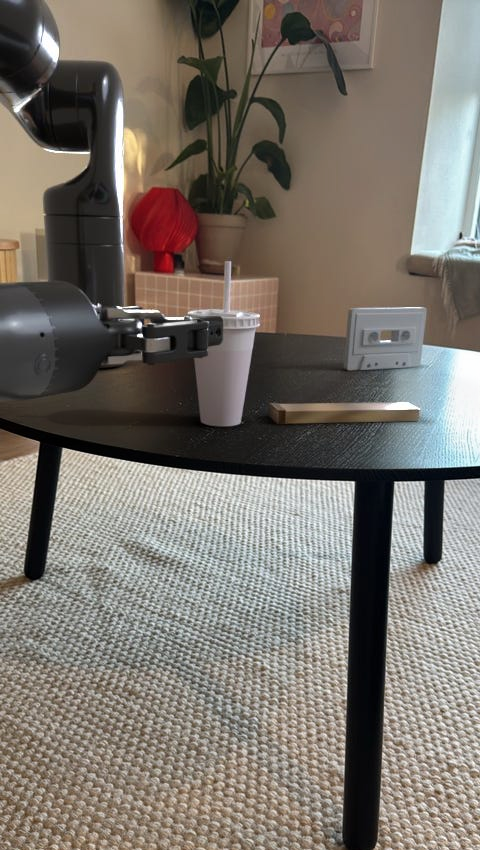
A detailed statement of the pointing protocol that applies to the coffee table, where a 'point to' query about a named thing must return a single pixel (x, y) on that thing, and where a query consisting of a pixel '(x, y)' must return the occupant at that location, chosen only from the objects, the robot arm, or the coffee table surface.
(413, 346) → the cassette
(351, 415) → the batten
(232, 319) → the smoothie
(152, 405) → the coffee table surface
